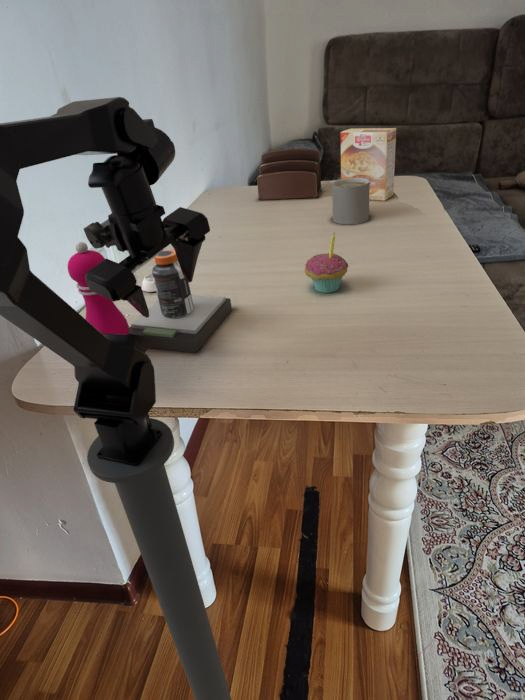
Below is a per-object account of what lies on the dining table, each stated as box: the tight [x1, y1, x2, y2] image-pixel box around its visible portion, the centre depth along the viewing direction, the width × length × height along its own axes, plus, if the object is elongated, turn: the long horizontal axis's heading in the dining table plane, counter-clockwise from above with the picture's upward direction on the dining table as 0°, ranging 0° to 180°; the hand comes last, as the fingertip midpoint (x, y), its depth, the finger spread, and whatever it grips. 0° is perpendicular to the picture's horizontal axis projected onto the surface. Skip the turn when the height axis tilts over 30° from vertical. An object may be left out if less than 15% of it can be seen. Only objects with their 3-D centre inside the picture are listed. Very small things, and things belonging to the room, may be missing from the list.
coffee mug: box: [331, 178, 370, 225], centre depth 134 cm, size 13×10×10 cm
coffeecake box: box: [340, 127, 397, 202], centre depth 147 cm, size 15×7×20 cm, turn 55°
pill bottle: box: [151, 249, 194, 318], centre depth 86 cm, size 6×6×11 cm
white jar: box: [141, 273, 156, 293], centre depth 106 cm, size 5×3×5 cm
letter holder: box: [256, 147, 322, 201], centre depth 159 cm, size 10×20×14 cm, turn 77°
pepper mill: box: [67, 241, 130, 335], centre depth 79 cm, size 7×7×20 cm
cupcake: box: [304, 231, 349, 294], centre depth 95 cm, size 9×8×12 cm
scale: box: [128, 294, 233, 354], centre depth 90 cm, size 16×14×3 cm
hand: (168, 298), depth 73 cm, fingers open, 9 cm apart
